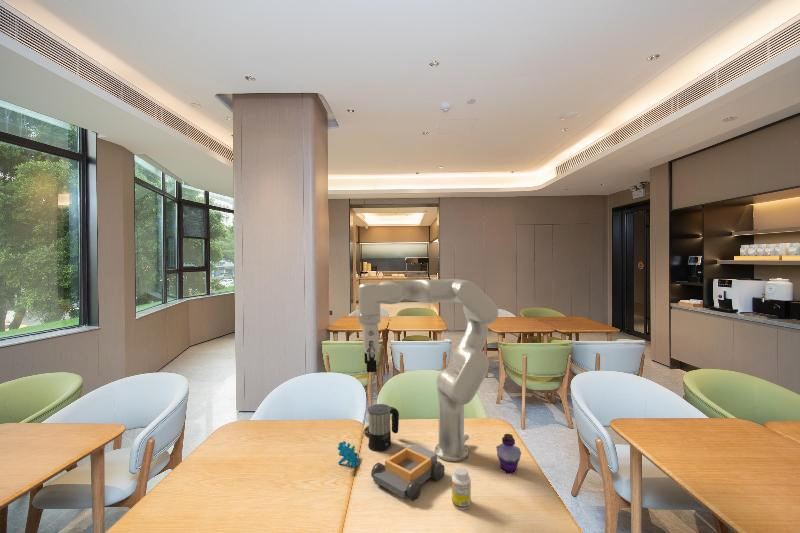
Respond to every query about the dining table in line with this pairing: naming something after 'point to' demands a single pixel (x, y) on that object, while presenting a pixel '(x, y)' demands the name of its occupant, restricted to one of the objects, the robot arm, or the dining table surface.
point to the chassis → (408, 471)
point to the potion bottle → (508, 454)
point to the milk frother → (381, 426)
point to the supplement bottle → (461, 488)
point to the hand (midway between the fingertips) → (370, 367)
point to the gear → (348, 454)
